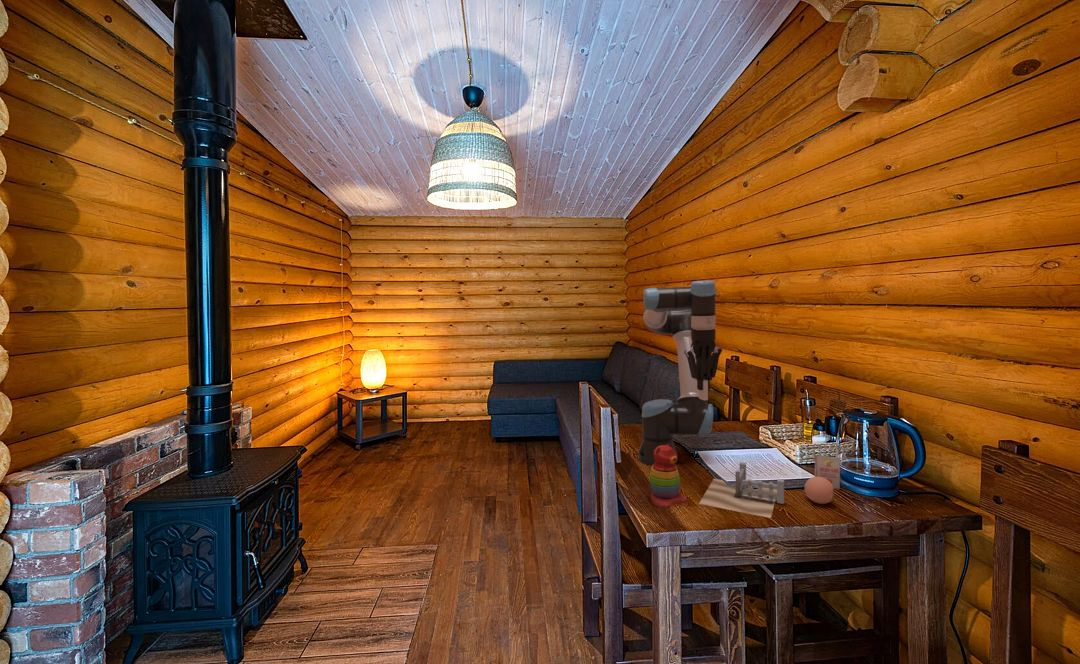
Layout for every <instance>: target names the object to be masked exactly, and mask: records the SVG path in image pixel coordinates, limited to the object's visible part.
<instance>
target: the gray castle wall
mask: <svg viewBox="0 0 1080 664" xmlns="http://www.w3.org/2000/svg"><path fill="white" fill-rule="evenodd" d="M776 483H777V484H776ZM776 483H774V482H773V481H772V482H771V481H769V482H763V481H762V480H758V481H756V480H752V479H751V478H748V479H746V480H743V485H748V490H744V489H743V495H748V498H751V497H752V496H755V497H758V500H762V498H768V499H769V501H771V502H773V499H774V500H775V501H776V502H777V504H781V505H784V504H785V479H779V478H777V482H776ZM752 486H755V487H758V492H757V491H752ZM762 488H769V493H764V492H762ZM773 489H775V490H777V494H773Z"/></svg>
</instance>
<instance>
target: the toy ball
mask: <svg viewBox="0 0 1080 664" xmlns="http://www.w3.org/2000/svg"><path fill="white" fill-rule="evenodd" d="M834 490H835V489H834V488H833V485H832V484H831V482H829V481H828V480H827V479H825V478H823V477H815V476H812V477H810V478H809V479H807V480H806V481H805V484H804V493H805V495H806V496H807V498H808V499H810V501H811V502H813V503H816V504H819V505H825V504H828V503H831V501H832V500H833V496H834Z"/></svg>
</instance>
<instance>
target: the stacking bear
mask: <svg viewBox="0 0 1080 664" xmlns="http://www.w3.org/2000/svg"><path fill="white" fill-rule="evenodd" d="M677 454H678V453H677ZM677 454H676V452H675V451H674V450H673V448H671V445H670V444H667V445H661V446H658V447H657V448H656V449H655V450H654V459H655V461H656V462H655V463H654V464H653V465H651V468H650V473H649V485H650V489H651V490H650V491H651V495H650V501H651V503H652V504H653V505H654V506H656V507H659V508H664V509H668V508H671V507H672V506H673V505H675V504H685V503H687V502H688V498H687V497H686V496H685V495H684V494H682V493H680V487H681V478H680V474H679V470H678V466H677V462H676V460H677ZM675 462H676V463H675Z"/></svg>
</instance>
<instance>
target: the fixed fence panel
mask: <svg viewBox="0 0 1080 664" xmlns="http://www.w3.org/2000/svg"><path fill="white" fill-rule="evenodd" d="M738 465H739V470H736V471H735V473H734V474H735V482H736V497H740V493H741V492H742V490H743V487H744V485H743V480H747V463H746V462H739V464H738Z"/></svg>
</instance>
